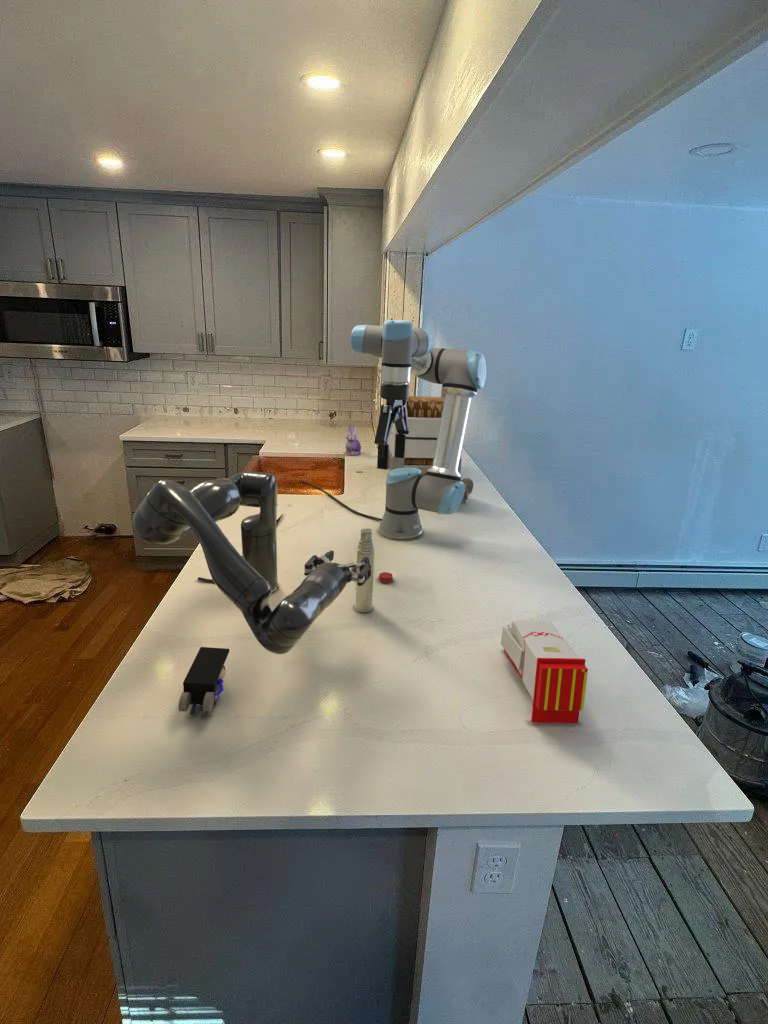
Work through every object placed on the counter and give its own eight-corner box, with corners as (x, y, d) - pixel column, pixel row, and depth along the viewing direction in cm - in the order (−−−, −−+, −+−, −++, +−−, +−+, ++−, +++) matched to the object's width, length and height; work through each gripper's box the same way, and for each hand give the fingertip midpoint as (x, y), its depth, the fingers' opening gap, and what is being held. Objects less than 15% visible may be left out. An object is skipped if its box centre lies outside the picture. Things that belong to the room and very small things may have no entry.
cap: (392, 583, 164) (393, 578, 163) (379, 583, 163) (379, 578, 163) (391, 577, 167) (392, 572, 167) (378, 577, 167) (378, 571, 166)
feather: (290, 508, 223) (292, 504, 223) (272, 532, 197) (275, 527, 196) (286, 505, 223) (289, 501, 223) (268, 529, 197) (271, 525, 196)
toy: (547, 606, 135) (596, 665, 106) (541, 658, 138) (589, 729, 108) (496, 604, 134) (532, 664, 105) (492, 657, 137) (526, 729, 108)
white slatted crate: (382, 463, 289) (386, 382, 275) (445, 464, 293) (451, 384, 279) (390, 482, 257) (394, 392, 243) (460, 483, 261) (468, 394, 247)
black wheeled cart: (215, 728, 107) (233, 673, 120) (211, 698, 104) (230, 644, 117) (179, 727, 107) (201, 672, 120) (174, 697, 103) (197, 644, 117)
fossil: (437, 484, 244) (466, 465, 239) (450, 500, 247) (479, 482, 242) (436, 505, 224) (468, 485, 219) (450, 523, 227) (482, 504, 222)
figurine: (348, 456, 299) (349, 428, 294) (341, 451, 307) (341, 424, 302) (364, 455, 303) (365, 427, 298) (356, 450, 312) (357, 423, 307)
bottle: (355, 612, 147) (357, 533, 140) (355, 604, 152) (357, 526, 144) (371, 612, 148) (375, 533, 140) (372, 604, 152) (375, 527, 144)
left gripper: (290, 597, 121) (321, 566, 136) (353, 609, 117) (377, 576, 132) (290, 565, 118) (321, 537, 133) (354, 577, 115) (379, 547, 129)
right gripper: (397, 377, 158) (393, 451, 166) (363, 387, 136) (360, 472, 143) (423, 379, 156) (418, 454, 163) (392, 389, 134) (388, 476, 141)
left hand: (349, 557), depth 132 cm, fingers open, 8 cm apart
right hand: (391, 463), depth 153 cm, fingers open, 13 cm apart
